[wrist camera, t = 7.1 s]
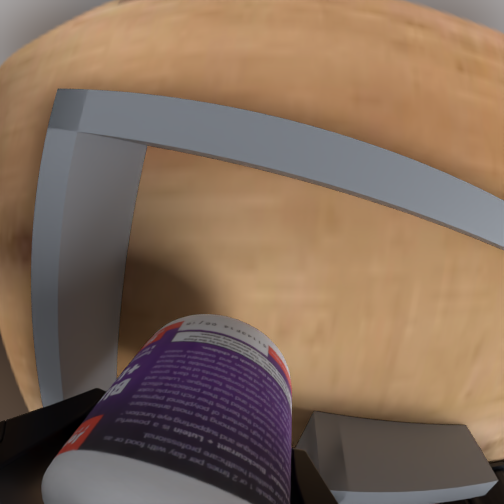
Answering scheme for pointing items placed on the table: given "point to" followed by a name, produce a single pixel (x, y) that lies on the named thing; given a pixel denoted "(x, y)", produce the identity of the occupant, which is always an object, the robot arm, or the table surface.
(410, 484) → the channel
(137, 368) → the pill bottle
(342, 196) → the table surface
